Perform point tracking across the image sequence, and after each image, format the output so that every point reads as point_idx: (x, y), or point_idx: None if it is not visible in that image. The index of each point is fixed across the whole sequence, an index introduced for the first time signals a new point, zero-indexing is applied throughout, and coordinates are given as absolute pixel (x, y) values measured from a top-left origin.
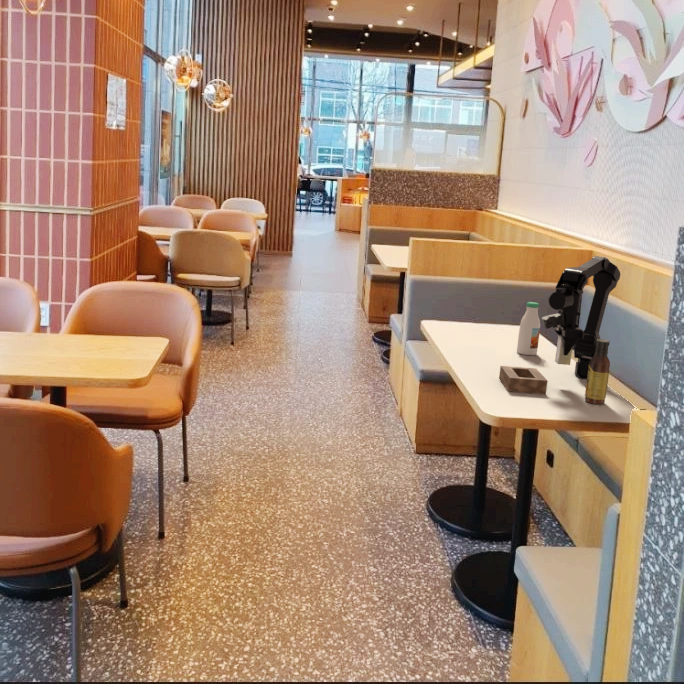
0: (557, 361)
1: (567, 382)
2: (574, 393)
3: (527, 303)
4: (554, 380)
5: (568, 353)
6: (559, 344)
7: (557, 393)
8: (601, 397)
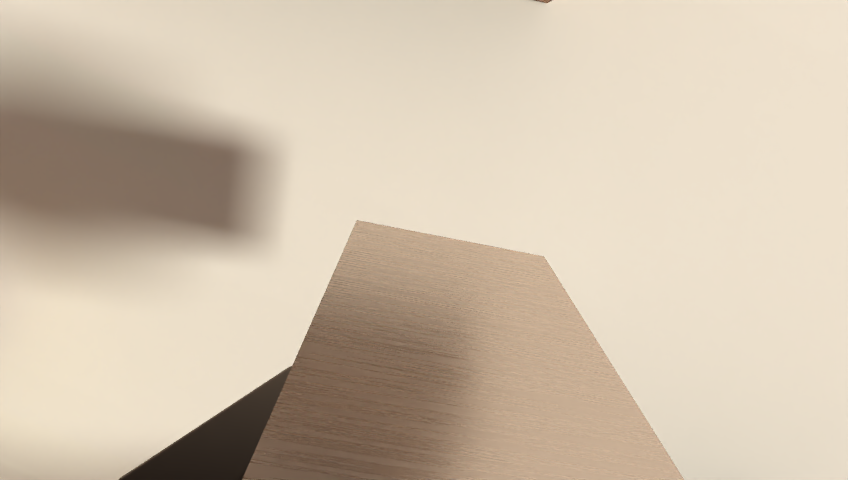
0: (399, 238)
1: None
2: (155, 235)
3: None
4: (591, 252)
5: None
6: (410, 441)
7: (109, 56)
8: None
